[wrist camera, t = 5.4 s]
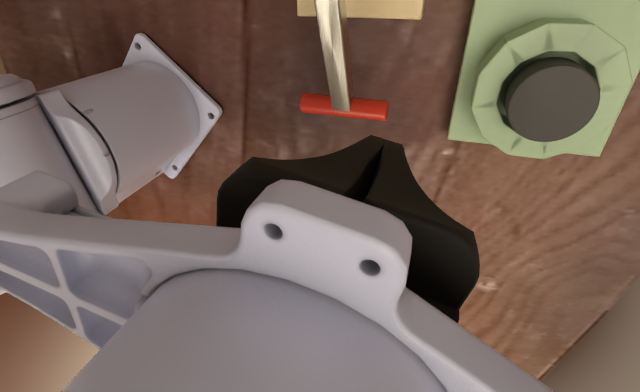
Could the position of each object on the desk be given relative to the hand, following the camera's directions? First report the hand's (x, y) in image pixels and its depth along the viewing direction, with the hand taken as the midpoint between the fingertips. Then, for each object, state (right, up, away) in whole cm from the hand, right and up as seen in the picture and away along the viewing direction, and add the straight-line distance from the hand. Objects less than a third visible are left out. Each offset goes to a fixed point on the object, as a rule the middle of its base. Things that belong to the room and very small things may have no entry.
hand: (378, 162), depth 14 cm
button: (+9, +4, +4) cm, 10 cm away
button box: (+10, +6, +5) cm, 13 cm away
